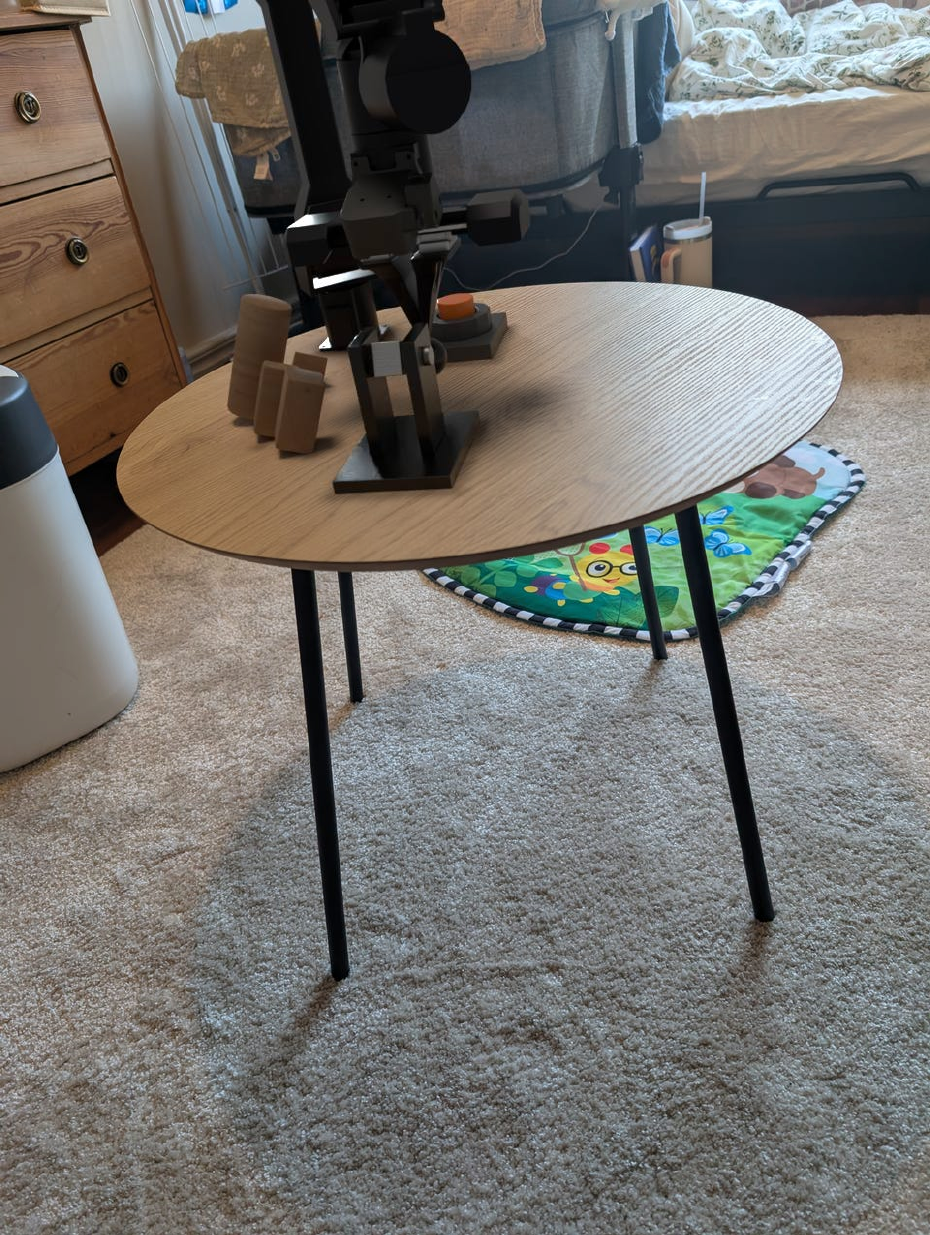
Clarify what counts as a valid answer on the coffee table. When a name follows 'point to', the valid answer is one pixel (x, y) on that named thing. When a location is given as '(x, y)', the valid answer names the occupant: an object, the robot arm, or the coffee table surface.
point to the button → (455, 306)
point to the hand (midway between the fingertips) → (425, 338)
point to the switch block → (470, 334)
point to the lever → (401, 358)
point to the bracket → (404, 425)
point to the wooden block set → (275, 377)
